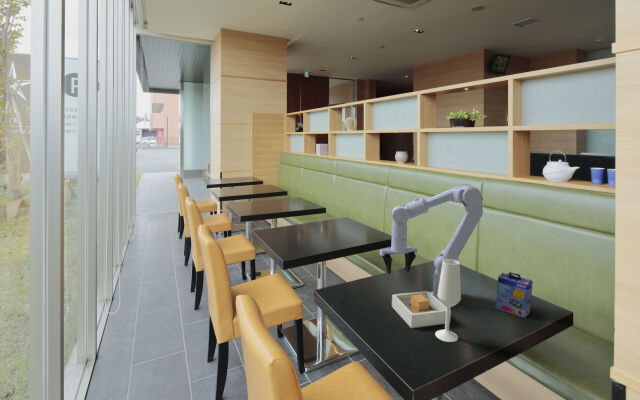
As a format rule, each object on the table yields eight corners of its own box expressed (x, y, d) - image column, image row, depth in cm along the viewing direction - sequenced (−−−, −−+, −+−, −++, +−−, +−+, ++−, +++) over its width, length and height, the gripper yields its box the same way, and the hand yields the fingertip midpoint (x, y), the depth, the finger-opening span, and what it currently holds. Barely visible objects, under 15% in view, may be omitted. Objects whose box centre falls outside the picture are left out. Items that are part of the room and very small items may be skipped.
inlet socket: (425, 306, 126) (425, 298, 126) (440, 319, 116) (441, 311, 116) (399, 309, 124) (400, 301, 123) (413, 323, 114) (413, 314, 114)
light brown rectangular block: (420, 310, 123) (421, 294, 122) (428, 316, 119) (429, 300, 118) (410, 311, 122) (411, 295, 121) (418, 318, 118) (419, 302, 116)
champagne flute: (450, 328, 111) (455, 257, 107) (462, 340, 104) (468, 265, 100) (431, 330, 110) (435, 258, 106) (441, 343, 103) (446, 266, 99)
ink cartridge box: (494, 308, 124) (497, 270, 121) (499, 303, 128) (503, 266, 125) (525, 318, 117) (529, 278, 115) (529, 312, 121) (534, 273, 118)
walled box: (426, 302, 129) (427, 291, 128) (450, 322, 114) (450, 310, 114) (391, 306, 126) (392, 294, 125) (411, 328, 112) (411, 315, 111)
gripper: (411, 233, 137) (410, 266, 139) (377, 236, 134) (376, 269, 136) (420, 238, 130) (419, 273, 132) (384, 241, 127) (383, 276, 129)
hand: (397, 271), depth 134 cm, fingers open, 7 cm apart
